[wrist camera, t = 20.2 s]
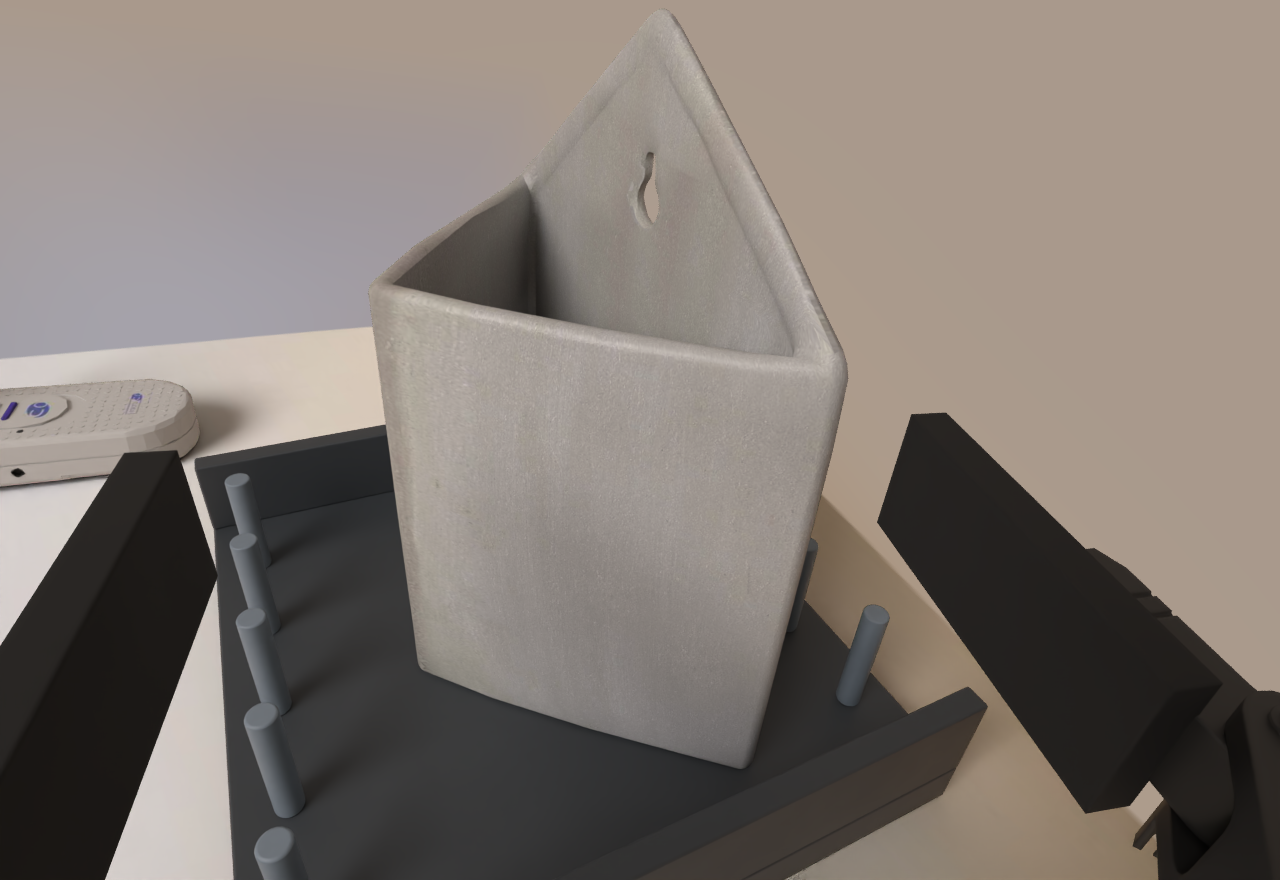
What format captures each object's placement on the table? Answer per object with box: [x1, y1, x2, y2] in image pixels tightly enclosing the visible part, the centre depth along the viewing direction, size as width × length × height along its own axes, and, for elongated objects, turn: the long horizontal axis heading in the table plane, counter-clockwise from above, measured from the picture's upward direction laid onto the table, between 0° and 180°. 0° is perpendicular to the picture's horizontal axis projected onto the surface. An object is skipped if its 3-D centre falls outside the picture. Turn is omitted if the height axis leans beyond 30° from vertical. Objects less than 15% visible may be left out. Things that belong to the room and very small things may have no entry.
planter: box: [368, 9, 848, 769], centre depth 21 cm, size 16×8×19 cm, turn 31°
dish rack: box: [195, 425, 988, 880], centre depth 26 cm, size 20×21×6 cm
